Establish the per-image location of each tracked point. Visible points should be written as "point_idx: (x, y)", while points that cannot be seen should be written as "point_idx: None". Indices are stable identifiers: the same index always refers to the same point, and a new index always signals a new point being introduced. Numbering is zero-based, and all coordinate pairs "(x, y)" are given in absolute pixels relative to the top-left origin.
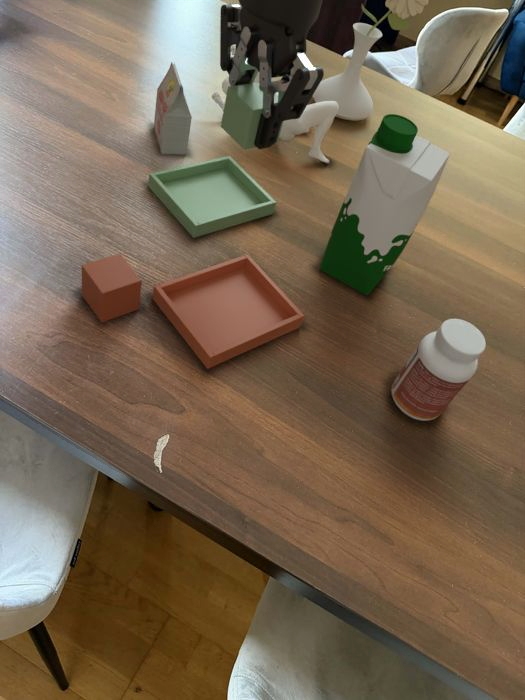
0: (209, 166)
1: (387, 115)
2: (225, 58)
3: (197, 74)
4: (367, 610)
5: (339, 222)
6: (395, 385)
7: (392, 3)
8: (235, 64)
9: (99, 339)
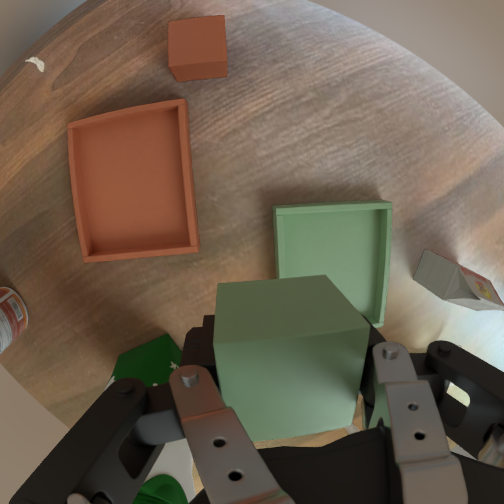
0: (379, 293)
1: None
2: (453, 363)
3: (487, 346)
4: None
5: (158, 381)
6: (10, 295)
7: None
8: (404, 382)
9: (157, 34)
